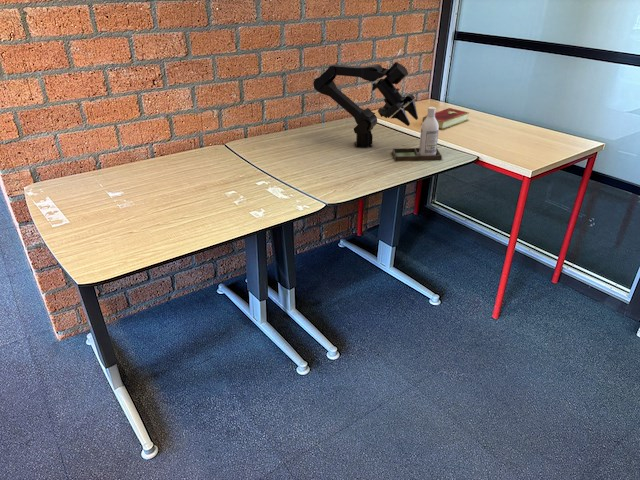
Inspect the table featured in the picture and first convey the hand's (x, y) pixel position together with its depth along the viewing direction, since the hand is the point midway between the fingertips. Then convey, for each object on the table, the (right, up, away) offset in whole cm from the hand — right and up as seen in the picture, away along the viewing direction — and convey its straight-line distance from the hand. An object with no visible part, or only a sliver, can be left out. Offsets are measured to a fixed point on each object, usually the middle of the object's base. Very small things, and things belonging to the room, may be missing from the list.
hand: (413, 122), depth 198 cm
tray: (+2, -13, +4) cm, 14 cm away
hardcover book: (+24, +10, +41) cm, 49 cm away
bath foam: (+6, -13, +4) cm, 15 cm away
